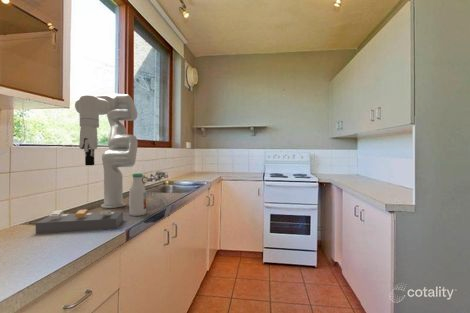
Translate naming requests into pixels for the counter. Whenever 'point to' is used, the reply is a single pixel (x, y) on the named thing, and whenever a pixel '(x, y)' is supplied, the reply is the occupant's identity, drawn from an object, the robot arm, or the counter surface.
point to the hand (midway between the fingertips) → (89, 165)
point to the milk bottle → (137, 196)
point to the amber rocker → (81, 213)
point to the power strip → (80, 222)
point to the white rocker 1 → (56, 214)
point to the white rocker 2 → (105, 212)
